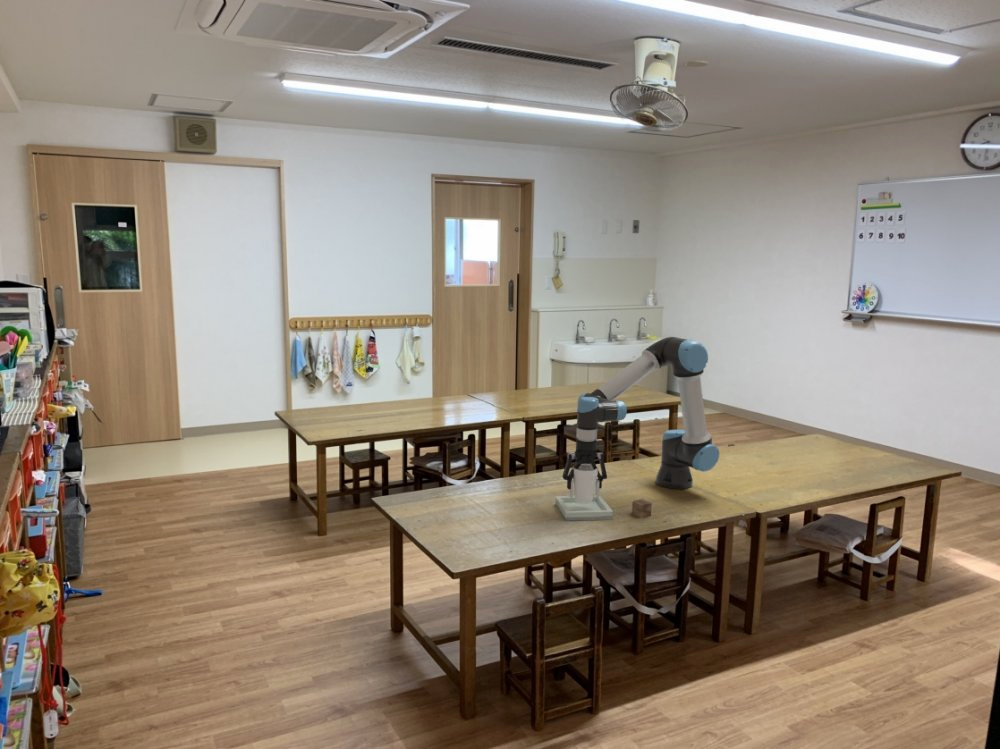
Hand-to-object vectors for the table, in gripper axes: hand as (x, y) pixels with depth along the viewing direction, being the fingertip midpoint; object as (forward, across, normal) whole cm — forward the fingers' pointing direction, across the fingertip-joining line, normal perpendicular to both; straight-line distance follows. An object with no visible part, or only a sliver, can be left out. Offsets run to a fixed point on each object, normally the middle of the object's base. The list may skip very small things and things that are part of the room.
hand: (583, 496), depth 278 cm
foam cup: (+2, 0, 0) cm, 2 cm away
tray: (+6, 0, 0) cm, 6 cm away
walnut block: (+6, -21, +5) cm, 22 cm away
